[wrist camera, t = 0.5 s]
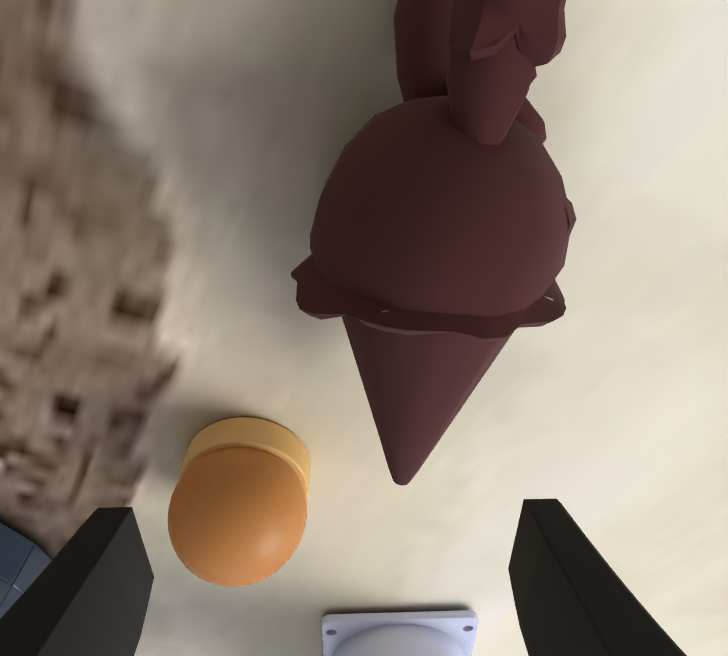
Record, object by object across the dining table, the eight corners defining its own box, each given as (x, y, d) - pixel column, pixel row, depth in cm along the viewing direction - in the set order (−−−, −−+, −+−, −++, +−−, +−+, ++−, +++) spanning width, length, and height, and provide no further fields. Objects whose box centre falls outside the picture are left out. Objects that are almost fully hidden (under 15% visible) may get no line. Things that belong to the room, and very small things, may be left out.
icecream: (562, 547, 16) (776, -90, 9) (310, 598, 14) (353, -180, 7) (459, 408, 22) (544, -43, 15) (271, 430, 20) (273, -85, 13)
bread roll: (313, 503, 24) (306, 614, 20) (197, 505, 24) (165, 618, 20) (307, 414, 21) (297, 521, 17) (176, 417, 21) (134, 525, 17)
